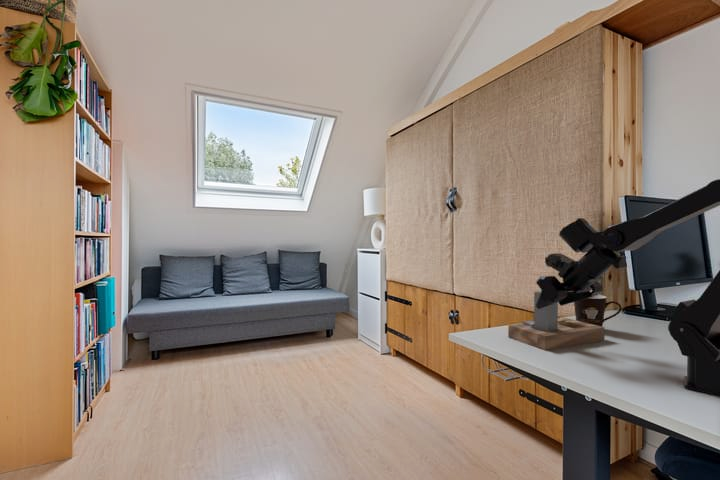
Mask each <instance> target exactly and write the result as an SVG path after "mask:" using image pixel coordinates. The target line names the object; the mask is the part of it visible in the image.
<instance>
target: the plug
mask: <svg viewBox="0 0 720 480" xmlns="http://www.w3.org/2000/svg"><path fill="white" fill-rule="evenodd" d="M540 294H541V288H539V289H537V291H534V295H533V297H534V298H533V299H534V300H533V301H534V302H533V303H534V305H533V307H534V309H533V310H534V311H533V313H534V315H533V322H534V329H537V330H540V331H543V332H553V331H558V318H559V315H558V313H559V310H558V309H559V302H558V303H555V304H552V305H549V306H546V307H543V308H540V309H538V308H537V307H536V304H537V301H538V299H539V297H540Z"/></svg>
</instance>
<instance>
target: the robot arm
mask: <svg viewBox="0 0 720 480" xmlns="http://www.w3.org/2000/svg"><path fill="white" fill-rule="evenodd" d="M719 206H720V178H719V179H715V180H713V181H710V182H709V183H707V184H706V185H705V186H702V187H701V188H699V189H697V190H694V191H692V192H691V193H688V194H686V195H684V196H683V197H681V198H678V199H677V200H674V201H672V202H671V203H668V204H666V205H664V206H663V207H661V208H658V209H656V210H655V211H652V212H650V213H648V214H646V215H644V216H641V217H638V218H632V219H629V220H625V221H622V222H619V223H615V224H613V225H609V226H607V227H605V229H604V230H603V231H597V230H596V229H595V228H594V227H592V225H590V224H589V222H588V221H587V220H586V219H585V218H581V217H578V218H577V219H576V220H574V221H572V222H571V223H569V224H567V225H565V226H564V227H563V228H562V229H561V230H560V232H559V233H558V235H559V237H560V238H561V239H562V240H563V241H564V242H565V243H566V245H568V246H569V248H571V249H572V250H573V252H575V253H582V254H584V255H582V257H581V258H579V260H575V259H573V258H571V257H569V256H567V255H565V254H564V253H557V252H556V253H550V254H547V256H545V257H544V260H545V261H544V263H545V265H546V266H547V267H548V268H552V269H553V270H555V271H557V272H558V273H557V275H558V276H559V277H560V278H561V279H562V280H561V281H562V282H561V281H560V280H559V279H558V278H557V277H556V276H555V275H544V276H543V275H542V276H540V277H539V278H538V279H537V280H536V285H538V287H539V289H541V294H540V297H539V299H538V301H537V304H536V307H537V308H538V309H540V308H543V307H546V306H549V305H552V304H555V303H558V305H560V306H561V307H562V306H565V305H568V304H572V303H573V304H574V302H576V301H580V300H583V299H587V298H590V297H593V296H597V295H601V293H602V292H603V285H602V284H601V283H600V281H602V280H603V277H602V276H603V275H604V274H605V273H606V272H608V270H609V269H611V268H612V267H614V269H616V270H618V269H620V270H621V269H627V268H628V263H627V256H626V255H623V256H622V255H619V254H618V252H628V251H629V252H630V251H635V250H638V249H640V248H641V247H642V246H644V245H645V244H647V243H649V242H650V241H652V240H653V239H654V237H656V236H657V235H658V234H660V233H662V232H663V231H665V230H667V229H669V228H672V227H675V226H677V225H679V224H681V223H684V222H685V221H688V220H690V219H692V218H695V217H697V216H699V215H702V214H705V213H706V212H708V211H710V210H712V209H716V208H718V207H719ZM667 320H668V321H669V320H670V322H669V323H668V326H667V329H668V332H669V334H670V336H671V337H672V339H673V340H674V341H675V342H676V344H677V345H678V347H679V350H680V353H681V355H682V356H684V357H687V358H686V363H687V364H686V375H684V379H683V380H684V381H683V388H685V389H688V390H692V391H696V392H702V393H706V394H711V395H717V396H720V269H719V270H718V272H717V273H716V274H715V276H714V277H713V278H712V280H711V282H710V283H709V284H708V286H707V287H706V288H705V290H704V291H703V292H702V294H701V295H700V296H699V297H698V298H697V299H689V300H684V301H680V302H679V303H678V304H677V306H676V307H675V310H674V312H673V314H672V315H670V316H669V317H667Z"/></svg>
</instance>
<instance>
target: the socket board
mask: <svg viewBox="0 0 720 480" xmlns="http://www.w3.org/2000/svg"><path fill="white" fill-rule="evenodd" d="M507 327H508V328H507V330H508V335H507V336H508V337H507V338H509V339H512V340H515V341H517V340H518V341H517V342H521V343H523V344H526V345H528V346H531V347H534V348H535V347H536V348H538V349H540V350H543V351H547V350H554V349H560V348H565V347H569V346H570V347H571V346H577V345H583V344H590V343H595V342H602V341H605V326H602V327H601V326H597V325H593V324H589V323H585V322H580V321H576V319H571V318H568V317H561V318H559V317H558V331H553V332H543V331H540V330H537V329H534V320H525V321H522V322H520V323H514V324H513V323H512V324H508V326H507Z"/></svg>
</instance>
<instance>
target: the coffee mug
mask: <svg viewBox="0 0 720 480" xmlns="http://www.w3.org/2000/svg"><path fill="white" fill-rule="evenodd" d="M607 298H608V297H607V296H605V295H602V294H598V295H597V296H593V297H590V298H587V299H583V300H580V301H576V302H573V305H574V314H575V320H576V321H580V322H585V323H589V324H593V325H597V326H601V327H604V326H603V325H604V323H605V322H606V321H608V320H610V319H612V318H614V317H616V316H617V315H618V314H620V313H621V312H622V305H621V304H620V303H619V302H617V301H612V300H611V301H607ZM611 304H616V305H617V306H618V307H619V309H618V310H617V311H616V312H615V313H614V314H612V315H610V316H609V315H608V316H607V317H605V312H606V309H607V307H608V306H609V305H611ZM604 317H605V318H604Z"/></svg>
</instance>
